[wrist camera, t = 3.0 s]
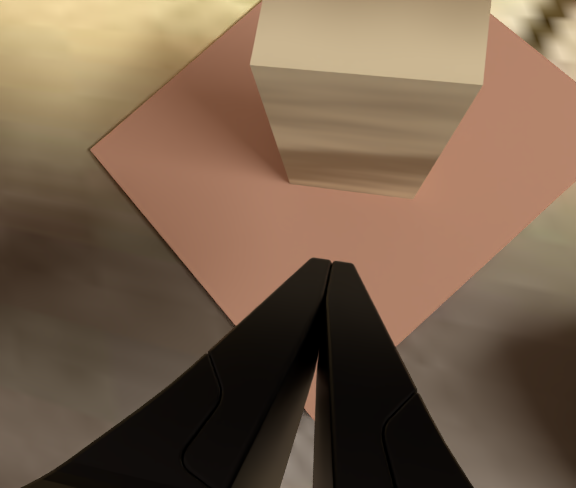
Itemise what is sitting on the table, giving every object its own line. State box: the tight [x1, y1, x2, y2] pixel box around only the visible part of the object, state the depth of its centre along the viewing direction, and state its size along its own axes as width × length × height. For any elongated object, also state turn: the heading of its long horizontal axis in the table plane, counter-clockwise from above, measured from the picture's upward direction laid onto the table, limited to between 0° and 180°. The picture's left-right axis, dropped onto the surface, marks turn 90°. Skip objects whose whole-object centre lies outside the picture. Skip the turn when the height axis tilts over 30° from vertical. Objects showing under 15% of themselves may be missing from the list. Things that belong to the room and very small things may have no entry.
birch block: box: [250, 0, 491, 199], centre depth 16 cm, size 4×6×10 cm, turn 81°
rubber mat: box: [90, 0, 576, 421], centre depth 21 cm, size 20×18×1 cm
